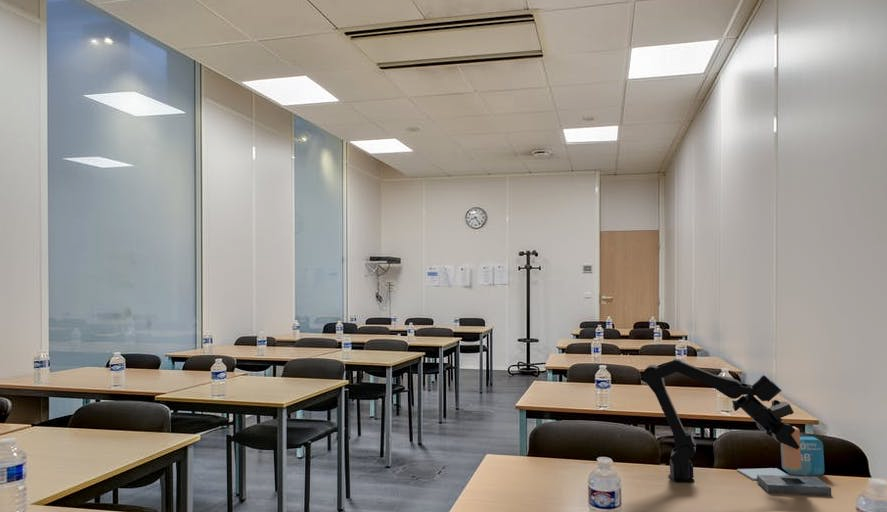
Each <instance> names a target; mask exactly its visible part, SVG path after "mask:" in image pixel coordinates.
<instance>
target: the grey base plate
mask: <svg viewBox="0 0 887 512" xmlns="http://www.w3.org/2000/svg"><path fill="white" fill-rule="evenodd" d="M756 482H757V484H758V485H759V486H760V487H762V489H763V490H765V491H766V493H767V494H780V495H781V494H783V495H804V496H805V495H807V496H826V497H827V496H828V497H829V496H830V497H831V496H832V488H831V486H830V485H828V484H827V483H826V482H824V481H823V480H821V479H820V478H819V477H817V476H804V475H790V476H776V475H757V480H756Z"/></svg>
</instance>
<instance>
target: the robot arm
mask: <svg viewBox="0 0 887 512" xmlns="http://www.w3.org/2000/svg"><path fill="white" fill-rule="evenodd" d="M675 373H679V374H681V375H683V376H685V377H688V378H690V379H692V380H696V381H698V382H701V383H703V384H704V385H705V384H706V385H707V386H709V387H712V388H714V389H715V390H716V391H718V392H719V393H721V394H722V395H724V396H726V397H727V398H729V399H733V400H732V401H731V402H732V409H733V410H734V411H735V412H736V411H738V410H739V409H741V410H742V411H744V413H745V414H747V416H749V417H750V419H752V421H754V422H755V423H756V427H757V429H760V431H762V432H764V431H765V434H767V435H768V436H770V437H772V438H774V441H777V442H778V443H780V444H781V443H783V444H786V445H788V446H790V447H793V448H795V449H799V445H798V444H797V442H796V441H795V440H794V438H793V437H792V435H791V434H792V433H793V432H795V429H794V428H793V427H792V425H791V424H790V423H787V422H782V421H783V419H782V418H784V417H787V416H789V415H793V414H794V413H795V411H794V410H793V408H792V406H791V404H790V402H787V401H783V400H782V401H780V400H778V399H774V398H775V397H777V395H778V394H780V393H781V392H782V391H783V389H781V387H779V386H778V385H777V384H776V383H775V382H774V381H773V380H770V378H768V377H767V376H766V375H765V374H762V375H761V376H760V378H759V379H758V380H757V381H755V382H754V383H753V384H749V383H743V382H741V381H739V380H738V379H736V378H733V377H728V376H723V375H718V374H713V373H711V372H709V371H706V370H703V369H702V368H699V367H696V366H694V365H692V364H689V363H686V362H684V361H682V360H681V359H680V358H674V359H672V360H670V361H668V362H664V363H661V364H658V365H656V364H651V365H650V364H649V365H648V366H647V367H646V368H644V371H643V373H642V376H643V379H644V381H645V382H646V385H648V387H649V388H650V390H651V391H652V392H653V393H654V395H655V397H656V399H657V401H658V403H659V406H660V408H661V410H662V412H663V415H664V416H665V417H664V418H666V422H667V423H668V425H669V428H670V430H671V432H672V436H673V440H674V445H675V447H674V448H673V449H672V450H671V454H670V459H669V474H667V476H668V477H669V478H670V479H671V480H672V481H674V482H675V483H689V482H690V483H692V482H693V483H694V482H695V479H694V466H693V464H692V461H691V460H690V459H692V458H694V456H695V455H696V448H697V440H696V439H695V438H694V436H693V432H692V431H691V430H690V431H687V430H686V429H685V427H684V426H683V423H682V422H681V419H680V416H679V415H678V413H677V410H676V409H675V406H674V404H673V402H672V399H671V397H670V395H669V393H668V390H667V389H666V384H665V379H664V378H665V377H667V376H669V375H672V374H675ZM757 398H758V399H757ZM736 399H737V400H736ZM772 399H773V400H772ZM770 401H771V405H770V407H768V406H767V405H764V403H762V402H768V403H769V402H770Z"/></svg>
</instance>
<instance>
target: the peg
mask: <svg viewBox="0 0 887 512" xmlns="http://www.w3.org/2000/svg"><path fill="white" fill-rule="evenodd" d="M791 426H792V425H791ZM792 427H793V428H794V429H795V432H793V433H792V434H791V435H792V437H793V438H794V440H795V441H796V442H797V444H798V445H799V449H795V448H793V447H790V446H788V445H786V444H783V443H782V460H783V466H785V467H786V468H787V469H801V451H800V436H801V435H800V433H801V432H800V429H799V428H798V427H796V426H792Z"/></svg>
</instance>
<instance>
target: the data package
mask: <svg viewBox="0 0 887 512" xmlns="http://www.w3.org/2000/svg"><path fill="white" fill-rule="evenodd" d="M800 451H801V469H787V468H786V467H785V466H783V460H782V443H780V458H781V459H780V460H781V468H782V469H783V471H785V473H786V472H787V474H788V475H791V476H822V475H824V473H825V456H824V455H825V454H824V444H823V441H822V440H821V439H819V438H816V437H814V436H801V435H800Z"/></svg>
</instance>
